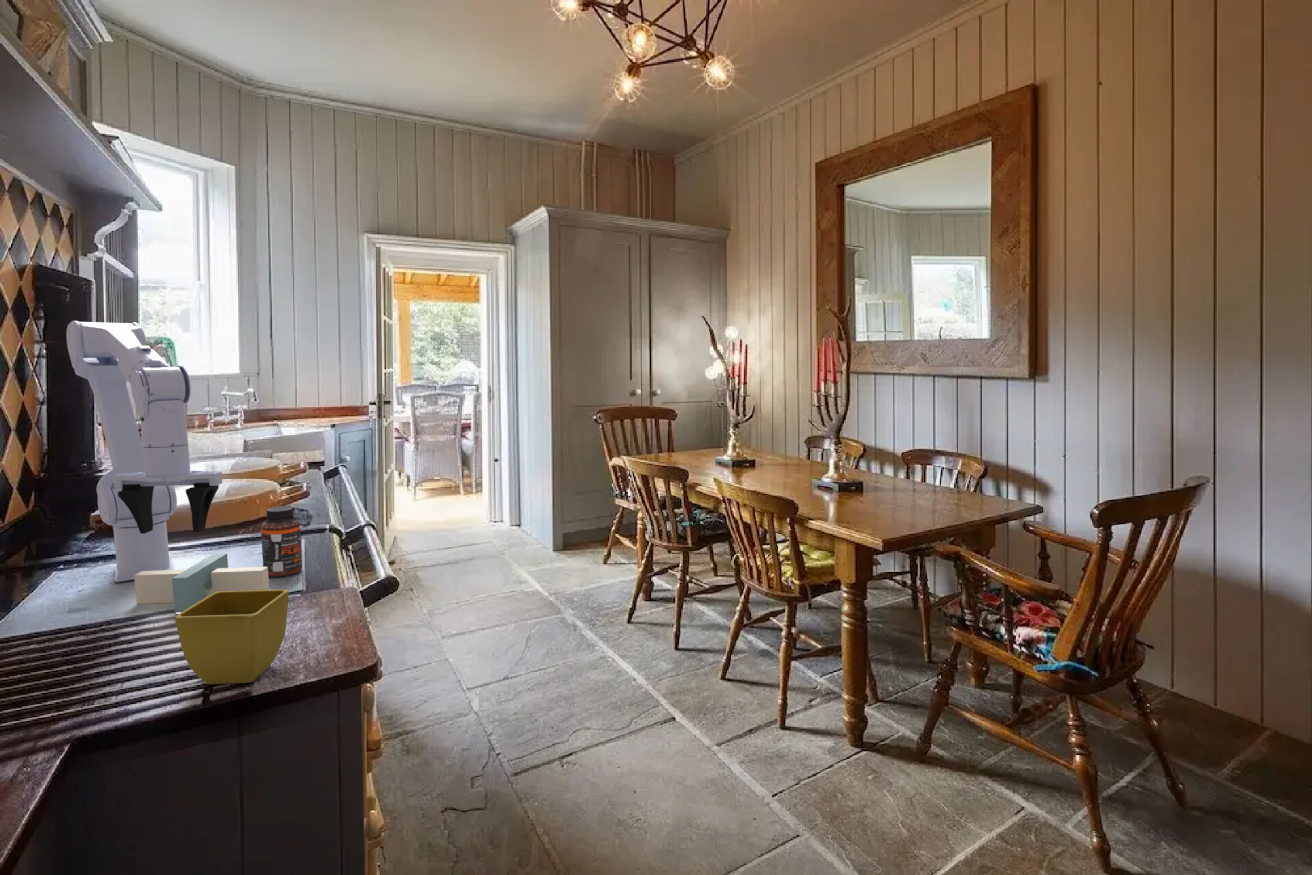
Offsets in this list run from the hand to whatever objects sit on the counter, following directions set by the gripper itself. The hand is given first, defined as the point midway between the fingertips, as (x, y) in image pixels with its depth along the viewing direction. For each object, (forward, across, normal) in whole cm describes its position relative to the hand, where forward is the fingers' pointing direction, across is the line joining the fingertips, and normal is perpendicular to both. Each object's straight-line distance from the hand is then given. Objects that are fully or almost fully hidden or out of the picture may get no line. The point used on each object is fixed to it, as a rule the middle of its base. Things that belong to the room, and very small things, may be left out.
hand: (173, 531), depth 107 cm
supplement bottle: (+10, +12, +8) cm, 18 cm away
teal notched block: (+10, +6, -4) cm, 12 cm away
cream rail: (+10, +6, -4) cm, 12 cm away
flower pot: (+10, +22, -31) cm, 40 cm away
